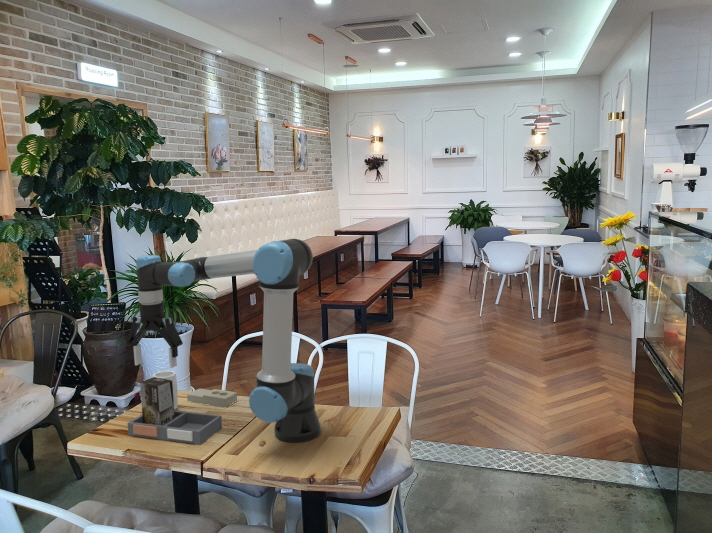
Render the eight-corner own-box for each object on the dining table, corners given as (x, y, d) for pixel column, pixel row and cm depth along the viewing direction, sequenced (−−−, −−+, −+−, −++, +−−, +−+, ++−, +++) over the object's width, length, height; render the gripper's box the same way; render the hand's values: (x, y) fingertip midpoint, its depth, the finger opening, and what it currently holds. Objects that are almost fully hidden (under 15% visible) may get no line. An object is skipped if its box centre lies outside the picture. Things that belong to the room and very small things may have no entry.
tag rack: (222, 427, 191) (221, 415, 190) (199, 445, 177) (198, 432, 177) (154, 419, 198) (153, 408, 198) (127, 436, 185) (126, 423, 185)
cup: (161, 406, 211) (158, 370, 209) (182, 407, 210) (180, 370, 208) (149, 415, 202) (147, 377, 201) (172, 416, 201) (169, 378, 199)
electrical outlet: (199, 386, 222) (237, 392, 215) (199, 396, 222) (237, 402, 215) (187, 392, 215) (225, 398, 208) (187, 402, 216) (226, 408, 209)
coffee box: (176, 426, 190) (173, 380, 188) (160, 433, 185) (157, 386, 183) (157, 421, 195) (155, 376, 193) (142, 427, 190) (139, 381, 187)
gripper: (190, 301, 184) (194, 364, 187) (127, 299, 192) (131, 360, 194) (177, 306, 177) (181, 371, 180) (111, 303, 185) (116, 366, 187)
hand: (155, 365), depth 187 cm, fingers open, 13 cm apart
